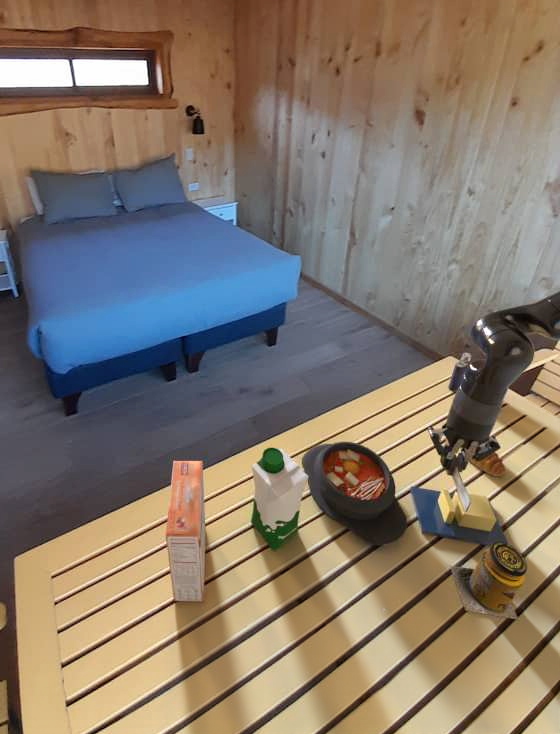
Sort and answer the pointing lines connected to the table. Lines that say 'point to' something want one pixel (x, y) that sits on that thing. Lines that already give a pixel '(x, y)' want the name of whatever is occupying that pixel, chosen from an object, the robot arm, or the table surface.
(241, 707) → the table surface
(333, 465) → the casserole
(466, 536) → the butter dish
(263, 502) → the milk carton
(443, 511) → the butter pat
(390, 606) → the table surface
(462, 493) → the knife
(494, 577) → the condiment
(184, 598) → the cracker box
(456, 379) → the flask
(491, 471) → the pastry
